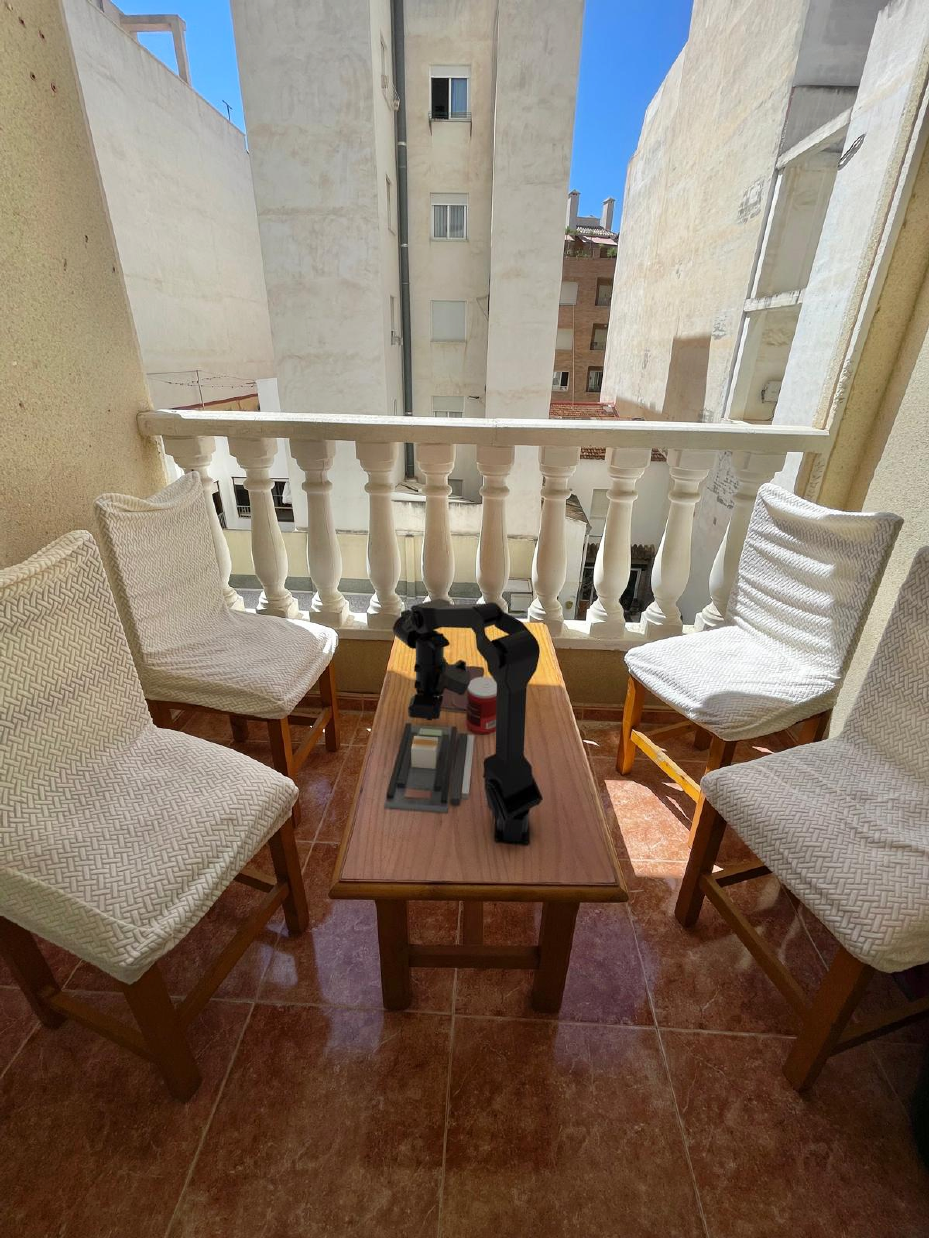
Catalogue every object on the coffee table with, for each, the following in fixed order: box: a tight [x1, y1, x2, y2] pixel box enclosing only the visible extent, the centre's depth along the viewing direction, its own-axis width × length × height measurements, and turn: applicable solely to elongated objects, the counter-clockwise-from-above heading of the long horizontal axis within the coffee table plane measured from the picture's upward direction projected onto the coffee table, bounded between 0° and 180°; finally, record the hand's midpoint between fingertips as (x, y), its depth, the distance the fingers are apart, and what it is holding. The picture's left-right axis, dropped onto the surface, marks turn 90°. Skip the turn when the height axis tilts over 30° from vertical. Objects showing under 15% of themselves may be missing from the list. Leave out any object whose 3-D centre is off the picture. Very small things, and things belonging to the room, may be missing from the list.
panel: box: [384, 722, 459, 814], centre depth 117 cm, size 24×12×3 cm, turn 176°
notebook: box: [440, 663, 485, 714], centre depth 144 cm, size 15×20×2 cm
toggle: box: [411, 736, 438, 769], centre depth 115 cm, size 4×5×5 cm
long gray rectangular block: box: [449, 732, 475, 807], centre depth 117 cm, size 20×3×2 cm, turn 176°
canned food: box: [465, 676, 497, 735], centre depth 129 cm, size 8×8×11 cm
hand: (429, 719), depth 120 cm, fingers closed
